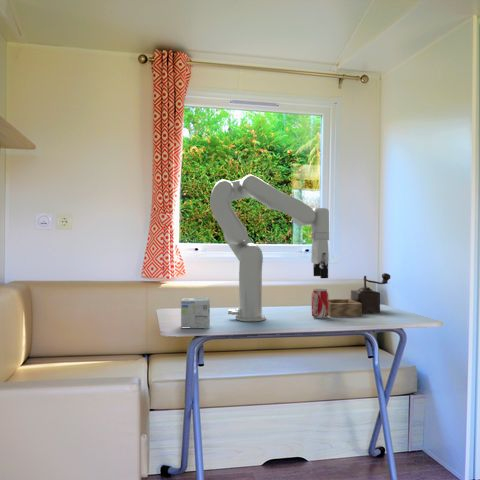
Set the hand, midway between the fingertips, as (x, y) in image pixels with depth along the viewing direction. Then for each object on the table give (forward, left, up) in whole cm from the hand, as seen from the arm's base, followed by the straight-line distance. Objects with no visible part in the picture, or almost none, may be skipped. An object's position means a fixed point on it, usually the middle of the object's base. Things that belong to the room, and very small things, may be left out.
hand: (320, 277), depth 177 cm
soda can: (0, 0, -18) cm, 18 cm away
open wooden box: (+12, +8, -17) cm, 22 cm away
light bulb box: (-53, -13, -18) cm, 58 cm away
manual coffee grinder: (+28, +12, -18) cm, 35 cm away
